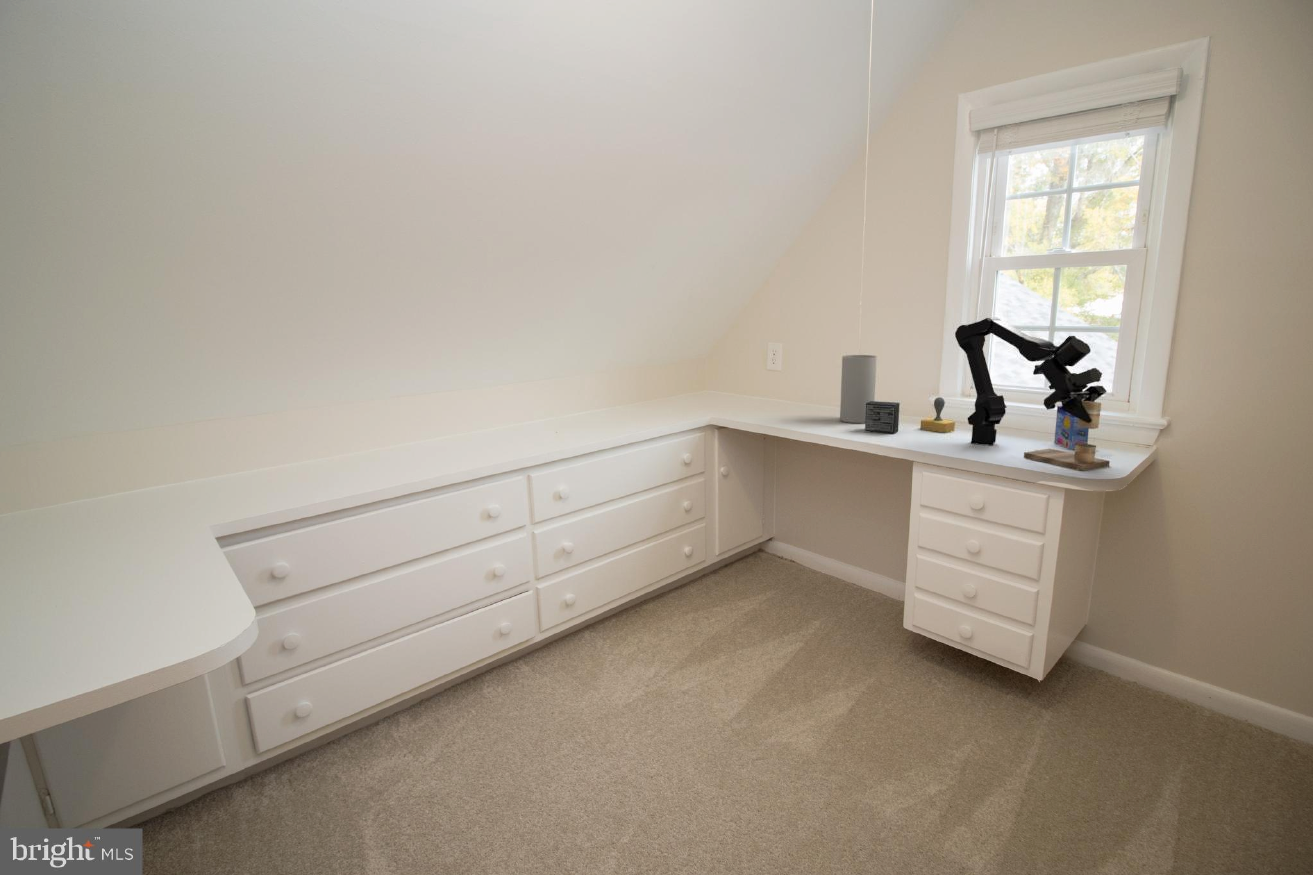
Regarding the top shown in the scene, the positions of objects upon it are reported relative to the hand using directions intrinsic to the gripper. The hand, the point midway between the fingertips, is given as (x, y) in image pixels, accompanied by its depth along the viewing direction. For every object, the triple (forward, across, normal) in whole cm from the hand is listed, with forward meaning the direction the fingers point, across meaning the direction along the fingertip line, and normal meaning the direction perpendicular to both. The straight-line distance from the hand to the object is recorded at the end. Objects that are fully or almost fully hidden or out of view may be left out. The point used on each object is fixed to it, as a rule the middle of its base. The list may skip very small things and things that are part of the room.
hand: (1093, 421), depth 176 cm
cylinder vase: (-50, -8, +69) cm, 86 cm away
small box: (-36, -14, +55) cm, 68 cm away
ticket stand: (+4, 0, +14) cm, 14 cm away
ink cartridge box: (-4, +20, +22) cm, 30 cm away
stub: (0, 0, +2) cm, 2 cm away
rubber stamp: (-30, +4, +50) cm, 58 cm away
